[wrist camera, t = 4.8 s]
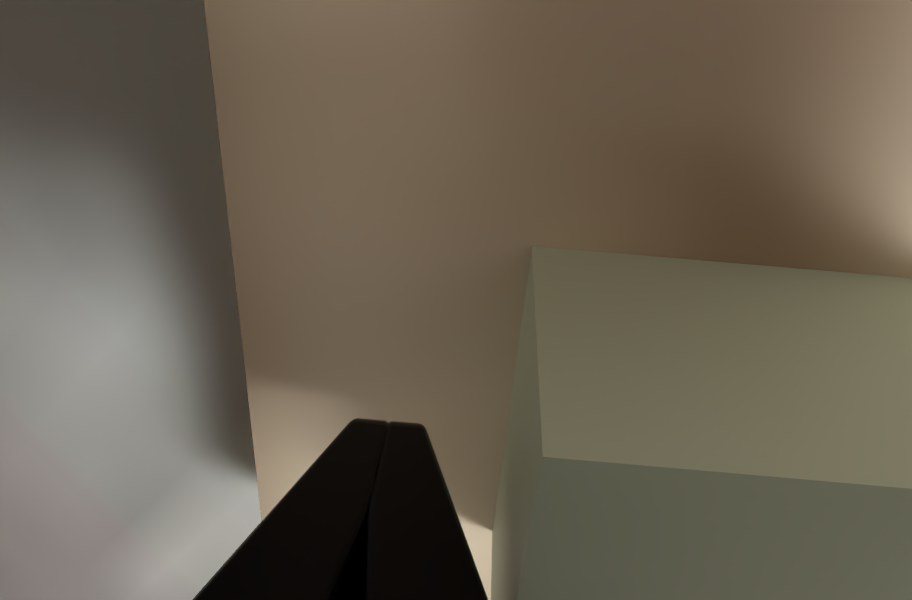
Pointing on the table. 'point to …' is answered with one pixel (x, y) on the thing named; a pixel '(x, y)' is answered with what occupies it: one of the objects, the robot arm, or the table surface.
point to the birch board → (523, 186)
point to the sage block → (706, 433)
